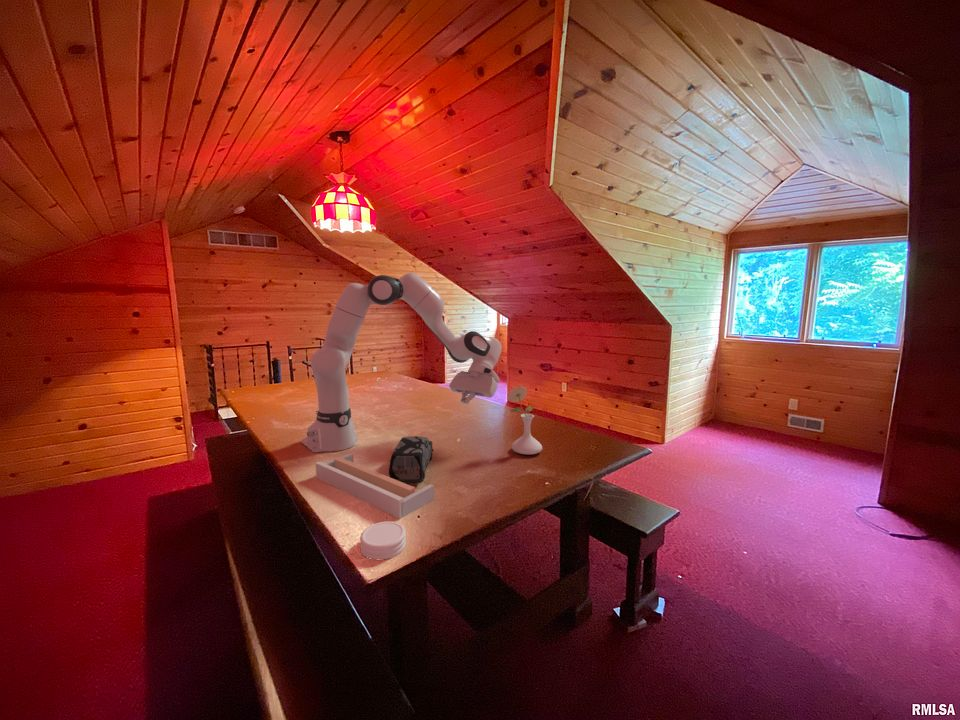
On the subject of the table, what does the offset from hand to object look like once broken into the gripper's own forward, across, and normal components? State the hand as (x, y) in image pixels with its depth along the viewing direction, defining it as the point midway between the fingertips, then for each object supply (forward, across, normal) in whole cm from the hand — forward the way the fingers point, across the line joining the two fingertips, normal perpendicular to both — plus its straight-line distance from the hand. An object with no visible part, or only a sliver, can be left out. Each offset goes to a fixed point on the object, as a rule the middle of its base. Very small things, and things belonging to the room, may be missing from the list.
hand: (464, 402), depth 147 cm
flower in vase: (+7, +22, +18) cm, 29 cm away
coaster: (+54, +25, -30) cm, 67 cm away
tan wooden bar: (+43, 0, -19) cm, 47 cm away
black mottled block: (+32, 0, -7) cm, 32 cm away
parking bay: (+43, 0, -19) cm, 47 cm away
